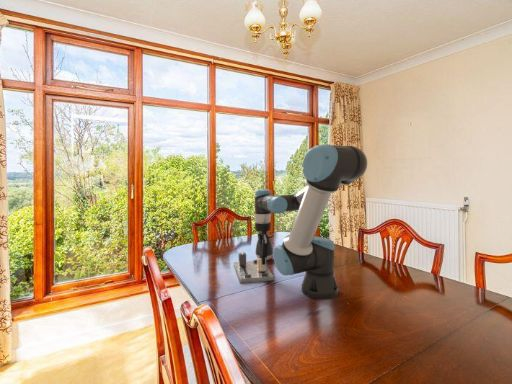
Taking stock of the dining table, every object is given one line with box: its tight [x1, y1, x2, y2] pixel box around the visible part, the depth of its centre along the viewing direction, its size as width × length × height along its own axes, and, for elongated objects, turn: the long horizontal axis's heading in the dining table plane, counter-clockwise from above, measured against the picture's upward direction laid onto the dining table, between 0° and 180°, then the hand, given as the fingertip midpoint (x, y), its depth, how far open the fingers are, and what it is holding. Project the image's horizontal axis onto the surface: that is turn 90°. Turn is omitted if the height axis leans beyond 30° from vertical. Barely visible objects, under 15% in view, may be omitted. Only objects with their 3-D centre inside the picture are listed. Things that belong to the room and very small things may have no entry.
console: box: [233, 259, 275, 284], centre depth 143 cm, size 24×16×3 cm
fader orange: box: [256, 258, 262, 272], centre depth 140 cm, size 3×4×6 cm
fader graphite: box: [238, 251, 247, 266], centre depth 149 cm, size 3×4×6 cm
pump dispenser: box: [255, 234, 274, 262], centre depth 164 cm, size 10×10×15 cm
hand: (262, 270), depth 136 cm, fingers closed
